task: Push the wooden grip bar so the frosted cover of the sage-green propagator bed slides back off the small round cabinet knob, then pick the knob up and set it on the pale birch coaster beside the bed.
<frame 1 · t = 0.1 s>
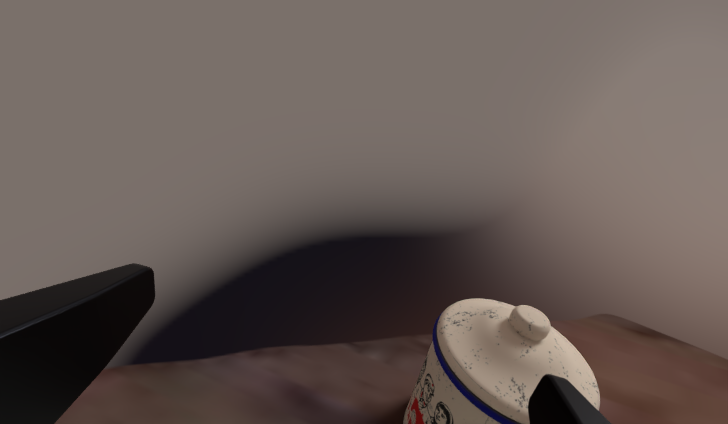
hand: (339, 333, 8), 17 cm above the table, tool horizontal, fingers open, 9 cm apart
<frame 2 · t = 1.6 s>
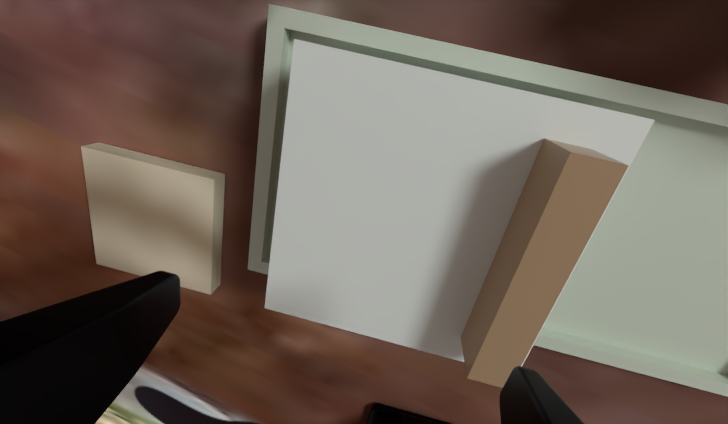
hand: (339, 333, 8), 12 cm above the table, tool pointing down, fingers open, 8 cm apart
birch coaster: (163, 217, 22), on the table
frosted cover: (421, 220, 15), point 4 cm above the table, slide at 0.0 cm
propagator bed: (526, 213, 18), on the table
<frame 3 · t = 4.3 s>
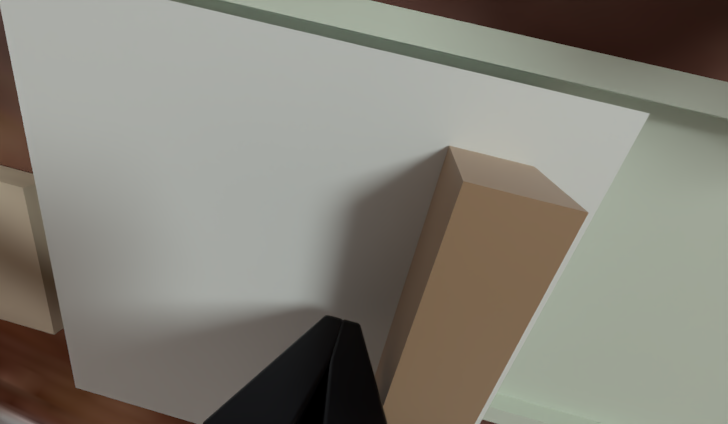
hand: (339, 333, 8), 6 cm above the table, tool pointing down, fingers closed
frosted cover: (288, 268, 9), point 4 cm above the table, slide at 1.0 cm, touching gripper
propagator bed: (447, 239, 13), on the table
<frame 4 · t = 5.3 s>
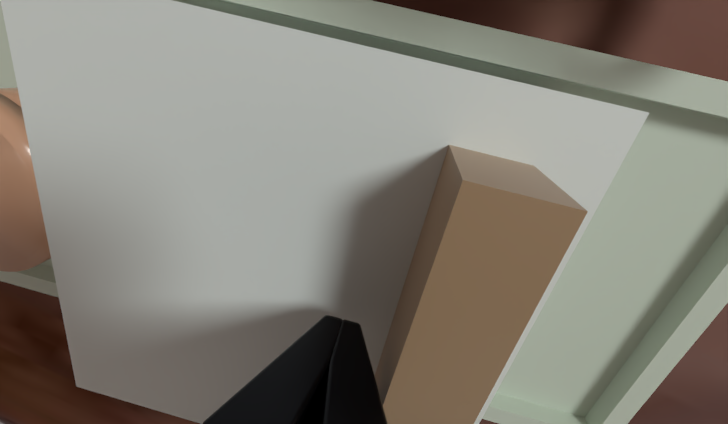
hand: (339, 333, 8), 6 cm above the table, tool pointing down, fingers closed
frosted cover: (288, 267, 9), point 4 cm above the table, slide at 6.8 cm, touching gripper
propagator bed: (304, 201, 14), on the table
round cabinet knob: (88, 153, 13), point 1 cm above the table, touching propagator bed
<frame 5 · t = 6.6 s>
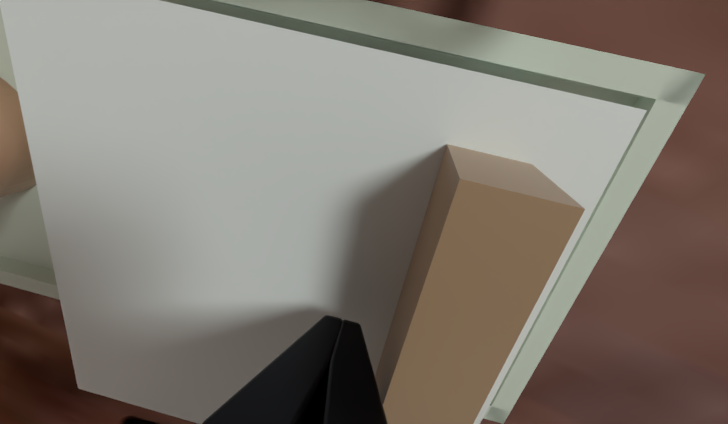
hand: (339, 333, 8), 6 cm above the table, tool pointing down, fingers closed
frosted cover: (288, 268, 9), point 4 cm above the table, slide at 11.0 cm, touching gripper
propagator bed: (203, 176, 14), on the table
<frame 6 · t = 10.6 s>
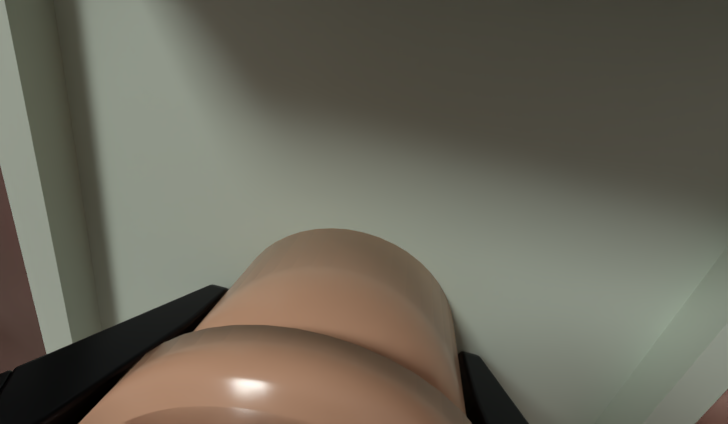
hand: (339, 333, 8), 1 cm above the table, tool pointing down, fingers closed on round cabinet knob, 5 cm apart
round cabinet knob: (341, 326, 8), point 1 cm above the table, touching gripper, propagator bed
when the fingers open (3 cm above the table, at t = 14.2 s): round cabinet knob drops 1 cm, resting on birch coaster.
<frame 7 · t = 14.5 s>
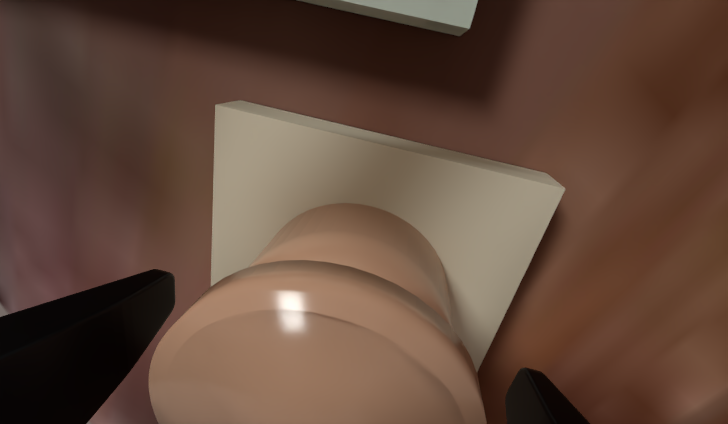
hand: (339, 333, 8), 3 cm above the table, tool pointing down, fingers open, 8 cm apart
birch coaster: (359, 265, 10), on the table
round cabinet knob: (352, 289, 9), point 1 cm above the table, touching birch coaster
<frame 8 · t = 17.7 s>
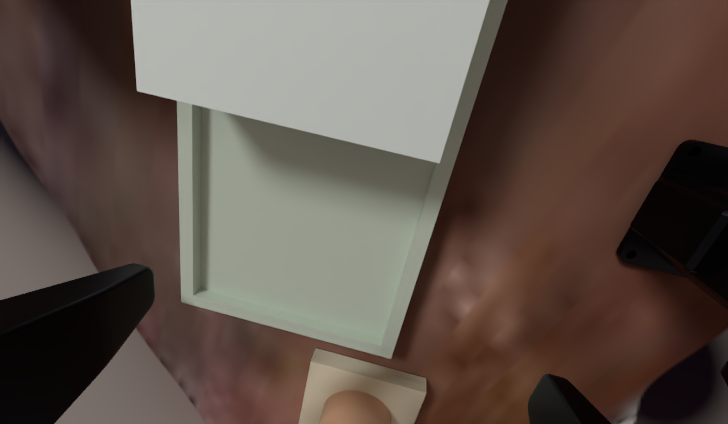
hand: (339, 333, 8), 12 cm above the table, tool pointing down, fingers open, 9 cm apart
birch coaster: (359, 400, 26), on the table
propagator bed: (325, 94, 17), on the table
round cabinet knob: (356, 415, 25), point 1 cm above the table, touching birch coaster
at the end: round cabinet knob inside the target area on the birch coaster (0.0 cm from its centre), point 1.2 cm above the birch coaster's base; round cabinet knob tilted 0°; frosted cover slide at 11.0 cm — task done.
